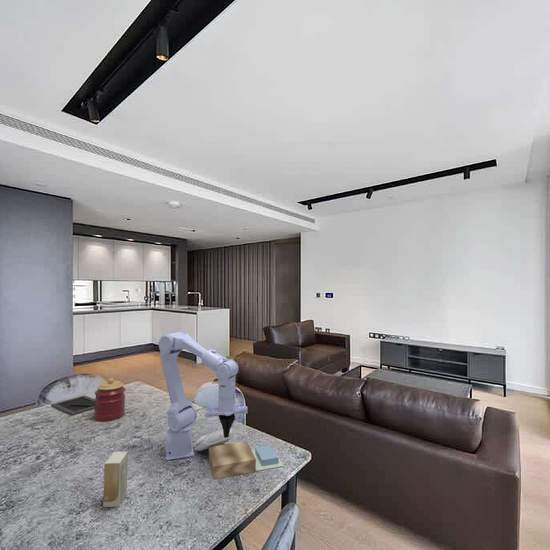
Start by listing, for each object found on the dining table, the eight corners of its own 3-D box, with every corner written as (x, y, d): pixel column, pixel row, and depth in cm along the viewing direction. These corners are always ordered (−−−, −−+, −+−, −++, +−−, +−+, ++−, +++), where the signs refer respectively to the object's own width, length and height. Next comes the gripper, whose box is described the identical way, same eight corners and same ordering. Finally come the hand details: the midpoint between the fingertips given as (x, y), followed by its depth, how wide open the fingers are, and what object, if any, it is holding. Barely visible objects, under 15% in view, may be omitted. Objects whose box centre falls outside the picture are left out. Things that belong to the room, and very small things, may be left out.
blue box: (278, 457, 109) (278, 463, 109) (270, 445, 117) (270, 450, 117) (261, 460, 107) (261, 466, 107) (255, 447, 116) (255, 452, 115)
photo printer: (231, 425, 119) (200, 434, 111) (234, 437, 117) (203, 447, 109) (220, 432, 125) (191, 442, 118) (223, 444, 123) (193, 454, 116)
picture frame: (105, 406, 160) (84, 398, 171) (105, 402, 160) (84, 394, 171) (71, 417, 147) (50, 407, 158) (72, 412, 147) (51, 403, 158)
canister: (130, 414, 149) (131, 377, 150) (103, 424, 138) (104, 384, 139) (115, 408, 156) (116, 372, 157) (88, 417, 145) (89, 379, 146)
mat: (255, 471, 104) (255, 470, 104) (246, 452, 117) (246, 451, 117) (283, 466, 107) (283, 465, 108) (272, 447, 120) (272, 447, 120)
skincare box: (112, 493, 92) (113, 451, 93) (127, 492, 93) (128, 450, 93) (102, 508, 86) (103, 463, 87) (118, 507, 86) (119, 462, 87)
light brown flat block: (213, 479, 100) (213, 466, 100) (208, 458, 112) (208, 446, 112) (255, 471, 104) (255, 459, 104) (246, 452, 117) (246, 441, 117)
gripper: (206, 402, 102) (205, 444, 102) (249, 398, 107) (249, 438, 106) (204, 395, 109) (203, 435, 109) (245, 391, 114) (244, 429, 113)
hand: (226, 436), depth 108 cm, fingers closed
